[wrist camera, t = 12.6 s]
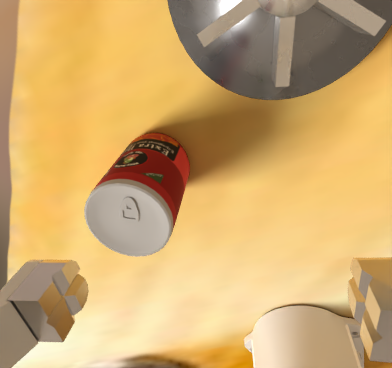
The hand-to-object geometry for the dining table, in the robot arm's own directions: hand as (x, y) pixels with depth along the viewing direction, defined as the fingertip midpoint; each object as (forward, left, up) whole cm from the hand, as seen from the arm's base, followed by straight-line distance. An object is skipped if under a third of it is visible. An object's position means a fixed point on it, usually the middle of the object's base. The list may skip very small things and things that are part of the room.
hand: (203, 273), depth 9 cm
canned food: (-4, +11, -23) cm, 26 cm away
